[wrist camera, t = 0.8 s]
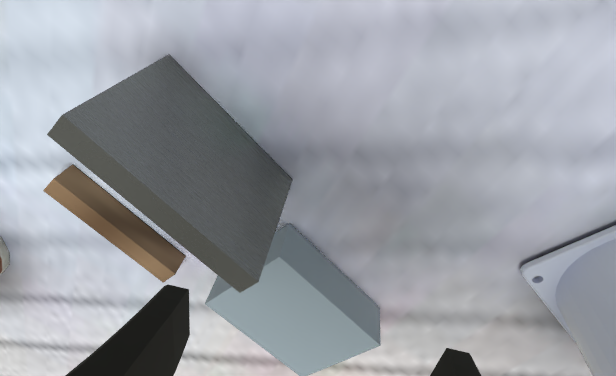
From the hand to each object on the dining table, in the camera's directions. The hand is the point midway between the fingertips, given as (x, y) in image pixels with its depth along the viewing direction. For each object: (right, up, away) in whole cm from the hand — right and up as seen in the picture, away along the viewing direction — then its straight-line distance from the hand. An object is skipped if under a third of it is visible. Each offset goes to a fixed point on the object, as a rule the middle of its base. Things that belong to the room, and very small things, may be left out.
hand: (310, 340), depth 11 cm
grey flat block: (-4, +7, +8) cm, 11 cm away
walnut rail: (-11, +3, +12) cm, 16 cm away
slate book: (-1, -2, +13) cm, 13 cm away
